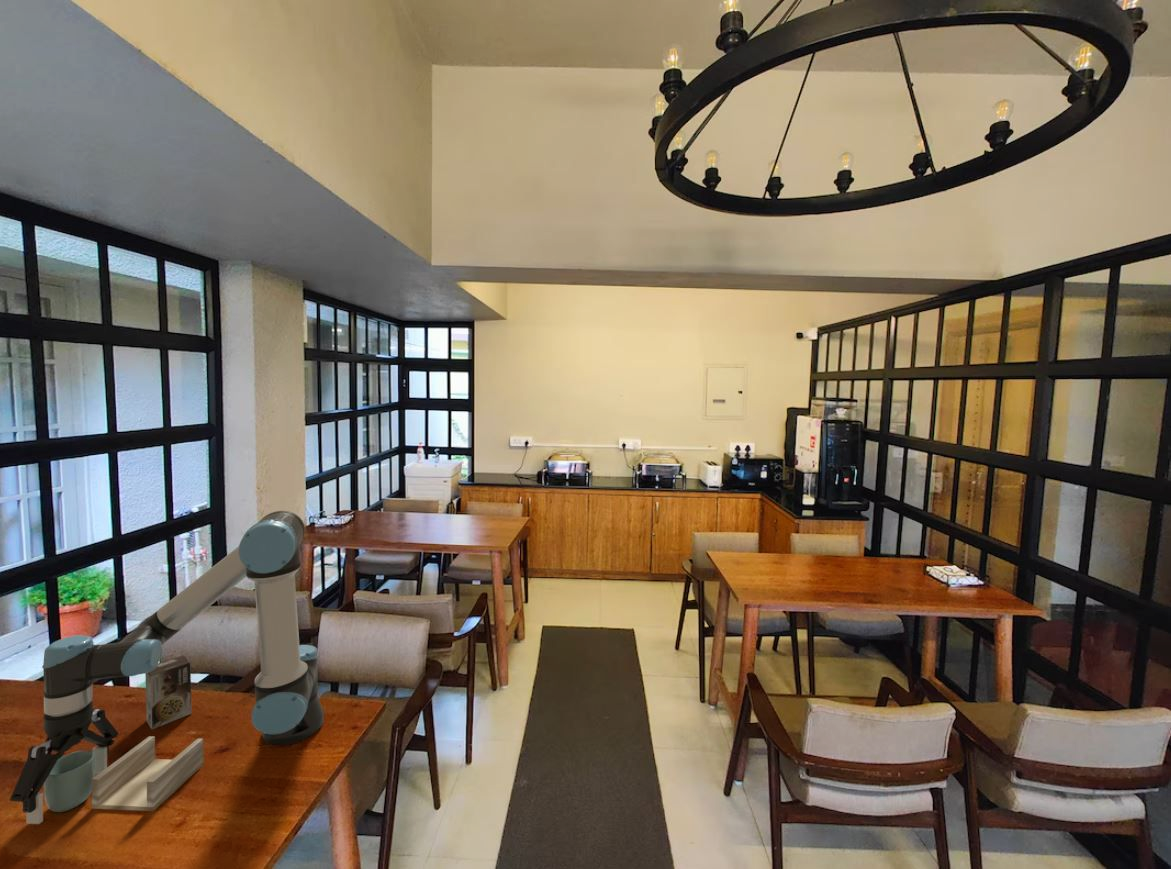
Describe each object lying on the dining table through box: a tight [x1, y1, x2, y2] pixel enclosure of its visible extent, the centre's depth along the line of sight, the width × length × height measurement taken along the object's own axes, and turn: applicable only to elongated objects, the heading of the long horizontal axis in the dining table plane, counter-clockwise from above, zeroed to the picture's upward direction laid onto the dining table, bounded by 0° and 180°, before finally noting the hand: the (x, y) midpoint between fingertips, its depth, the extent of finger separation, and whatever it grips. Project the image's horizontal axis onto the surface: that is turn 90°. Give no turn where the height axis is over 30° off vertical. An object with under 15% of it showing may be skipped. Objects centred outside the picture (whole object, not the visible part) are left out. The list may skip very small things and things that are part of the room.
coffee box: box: [144, 655, 193, 730], centre depth 138 cm, size 9×6×16 cm
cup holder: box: [91, 736, 204, 812], centre depth 114 cm, size 14×14×7 cm
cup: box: [43, 749, 96, 813], centre depth 108 cm, size 8×8×10 cm
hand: (69, 796), depth 108 cm, fingers open, 13 cm apart
